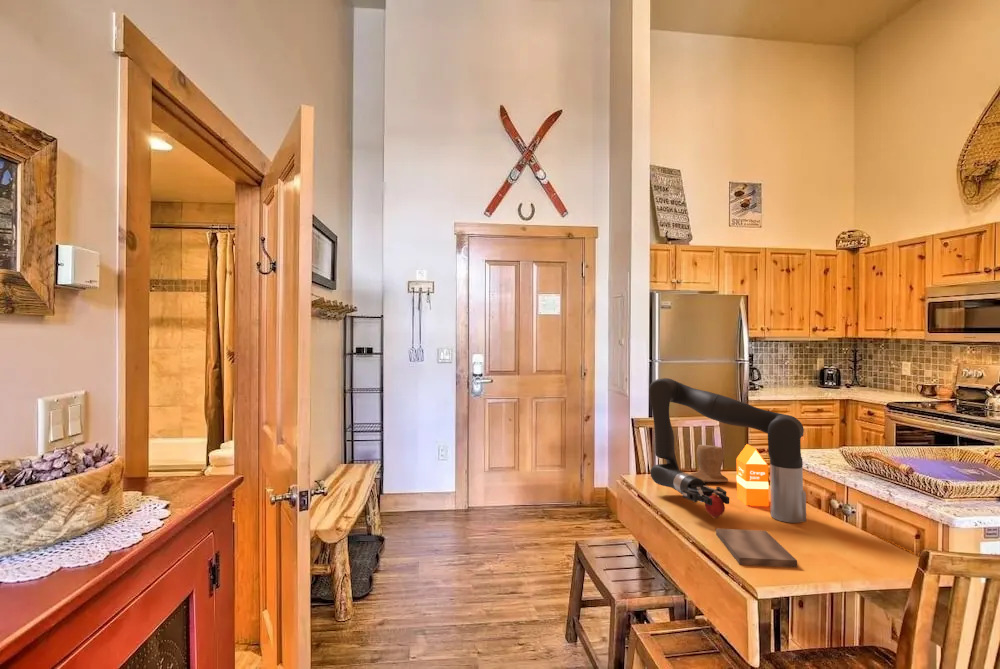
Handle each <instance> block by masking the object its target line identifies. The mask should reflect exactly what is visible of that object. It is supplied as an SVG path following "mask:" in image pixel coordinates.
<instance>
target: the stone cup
mask: <svg viewBox="0 0 1000 669" xmlns="http://www.w3.org/2000/svg"><path fill="white" fill-rule="evenodd" d="M724 457H725V455H724V449H723V448H722V447H721V446H718V445H717V446H716V445H709V444H707V445H706V444H698V445H697V449H696V459H697V462H698V470H697V471H694V472H690V475H693V476H695V477H697V478H699V479H701V480H703V481H704V483H726V482H727V483H728V482H729V479H728V478H727V477H726V476H725V475H723V474H722V472H721V471H722V466H723V462H724Z"/></svg>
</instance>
